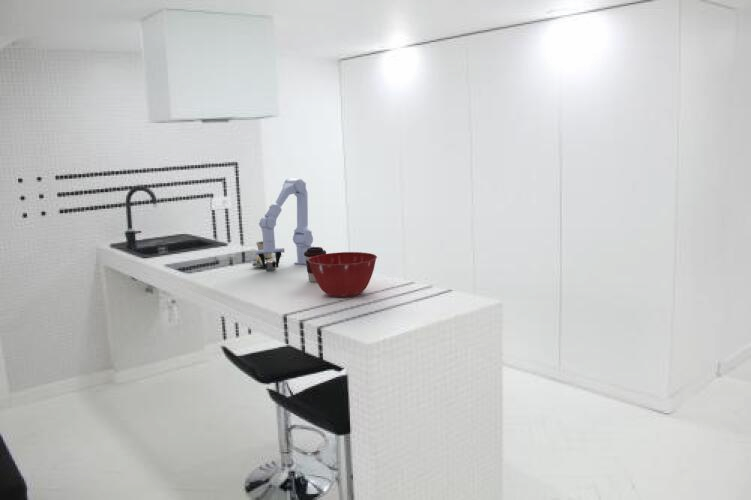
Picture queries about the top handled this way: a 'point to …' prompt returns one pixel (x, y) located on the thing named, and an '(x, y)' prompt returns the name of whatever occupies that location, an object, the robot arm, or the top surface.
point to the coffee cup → (310, 253)
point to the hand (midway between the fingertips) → (270, 267)
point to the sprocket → (259, 263)
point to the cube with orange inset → (270, 266)
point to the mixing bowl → (343, 272)
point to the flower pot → (260, 247)
